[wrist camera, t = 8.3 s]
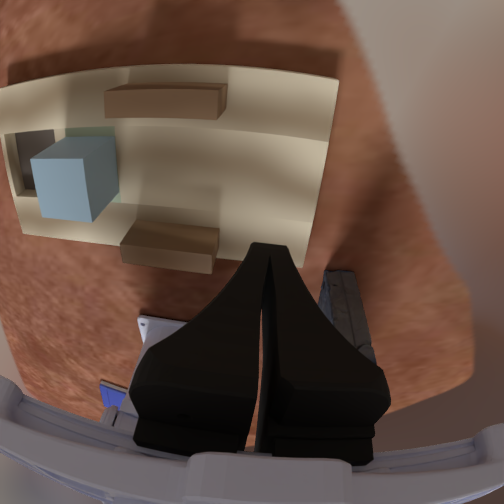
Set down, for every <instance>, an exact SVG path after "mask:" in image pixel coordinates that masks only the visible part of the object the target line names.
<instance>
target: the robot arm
mask: <svg viewBox="0 0 504 504" xmlns="http://www.w3.org/2000/svg"><path fill="white" fill-rule="evenodd" d="M261 309H262V336H263V368H262V379H261V390H260V401H259V411H258V421H257V431H256V439H255V448H254V452H247V451H244V449H245V445H246V440H247V436H248V434H249V430H250V426H251V422H252V417H253V413H254V409H255V404H256V400H257V393H258V379H259V339H260V315H261ZM137 320H138V324H139V328H140V332H141V336H142V340H143V347H142V350H141V353H140V355H139V358H138V361H137V364H136V367H135V369H134V372H133V375H132V378H131V381H130V384H129V387H128V390H127V393H126V396H125V398H124V399H123V400H122V403H121V406H120V410H119V411H118V407H117V406H115V405H112V406H111V407H108V408H106V409H105V410H104V412H103V414H102V417H101V419H100V422H97V421H94V420H91V419H87V418H84V417H81V416H78V415H76V414H73V413H70V412H67V411H64V410H62V409H59V408H56V407H54V406H51V405H49V404H46V403H44V402H41V401H39V400H36V399H34V398H31V397H29V396H27V395H25V394H23V392H22V391H21V389H20V388H19V387H18V386H17V385H16V384H15V383H14V382H12V381H11V380H9V379H7V378H5V377H3V376H1V375H0V453H2V454H3V455H5V456H7V457H9V458H10V459H12V460H14V461H16V462H17V463H19V464H21V465H23V466H25V467H27V468H29V469H31V470H32V471H34V472H36V473H38V474H40V475H42V476H44V477H46V478H48V479H50V480H52V481H55V482H57V483H59V484H61V485H63V486H66V487H68V488H70V489H72V490H75V491H77V492H79V493H82V494H84V495H87V496H89V497H92V498H95V499H97V500H100V501H102V503H103V504H462V503H465V502H468V501H471V500H474V499H476V498H479V497H481V496H484V495H486V494H488V493H490V492H492V491H494V490H496V489H498V488H500V487H502V486H504V423H501V424H497V425H493V426H489V427H487V428H485V429H483V430H481V431H480V432H479V433H477V434H476V435H475V436H474V437H473V438H469V439H464V440H460V441H455V442H450V443H445V444H439V445H433V446H428V447H421V448H414V449H406V450H398V451H388V452H377V453H373V448H372V438H373V437H374V436H375V429H374V424H375V423H376V422H377V421H378V420H379V419H380V418H381V417H382V415H383V414H384V413H385V412H386V411H387V410H388V408H389V407H390V405H391V397H390V391H389V387H388V384H387V380H386V378H385V375H384V372H383V370H382V369H381V368H380V367H378V366H377V365H376V364H375V363H373V362H372V361H371V360H369V359H368V358H367V357H365V356H364V355H363V354H362V353H361V352H359V351H358V350H357V349H356V348H355V347H354V346H353V345H352V344H351V343H350V342H349V341H348V340H347V339H346V338H345V337H344V336H343V335H342V334H341V333H340V332H339V331H338V330H337V329H336V328H335V327H334V326H333V324H332V323H331V322H330V321H329V320H328V318H327V317H326V316H325V314H324V313H323V312H322V310H321V309H320V308H319V306H318V305H317V303H316V302H315V300H314V299H313V297H312V295H311V294H310V292H309V291H308V289H307V287H306V285H305V284H304V282H303V280H302V278H301V276H300V274H299V272H298V270H297V268H296V266H295V264H294V262H293V259H292V257H291V254H290V251H289V248H288V247H287V246H286V245H277V244H269V243H260V242H253V243H251V244H250V247H249V250H248V252H247V254H246V256H245V258H244V260H243V261H242V263H241V265H240V266H239V268H238V269H237V271H236V272H235V274H234V275H233V277H232V278H231V279H230V280H229V282H228V283H227V284H226V286H225V287H224V288H223V289H222V290H221V292H220V293H219V294H218V295H217V296H216V297H215V298H214V299H213V300H212V301H211V302H210V303H209V304H208V305H207V306H206V307H205V308H204V309H203V310H202V311H201V312H200V313H199V314H198V315H196V316H195V317H194V318H193V319H192V320H190V321H189V322H181V321H175V320H169V319H162V318H156V317H150V316H145V315H139V316H138V319H137Z"/></svg>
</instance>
